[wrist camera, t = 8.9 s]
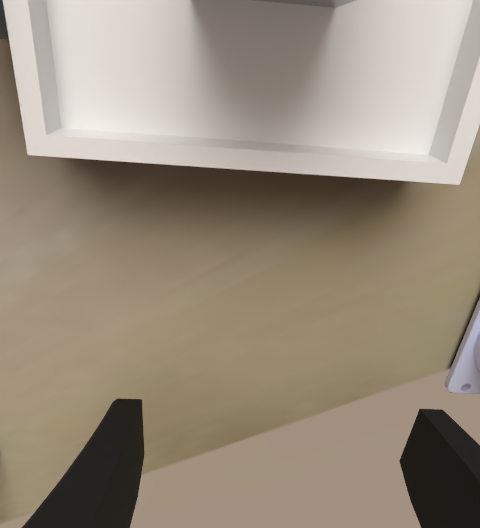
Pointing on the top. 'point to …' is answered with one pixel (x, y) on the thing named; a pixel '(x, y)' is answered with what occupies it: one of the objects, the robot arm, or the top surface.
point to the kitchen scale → (251, 84)
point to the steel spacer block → (314, 2)
